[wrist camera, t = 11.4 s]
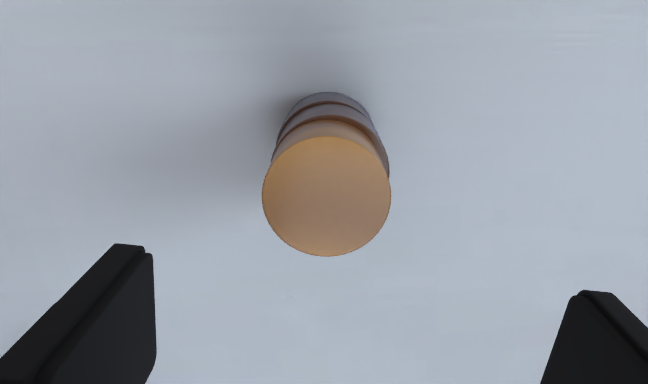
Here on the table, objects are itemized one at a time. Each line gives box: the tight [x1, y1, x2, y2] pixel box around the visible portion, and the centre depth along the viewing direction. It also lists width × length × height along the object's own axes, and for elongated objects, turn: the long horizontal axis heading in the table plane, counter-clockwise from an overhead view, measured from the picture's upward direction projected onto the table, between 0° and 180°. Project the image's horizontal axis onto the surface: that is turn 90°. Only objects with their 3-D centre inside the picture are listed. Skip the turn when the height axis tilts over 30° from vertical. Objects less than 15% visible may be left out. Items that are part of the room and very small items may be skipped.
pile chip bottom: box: [276, 92, 374, 145], centre depth 26 cm, size 6×6×3 cm
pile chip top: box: [271, 103, 389, 179], centre depth 23 cm, size 6×6×3 cm
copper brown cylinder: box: [262, 120, 391, 256], centre depth 20 cm, size 5×5×3 cm
